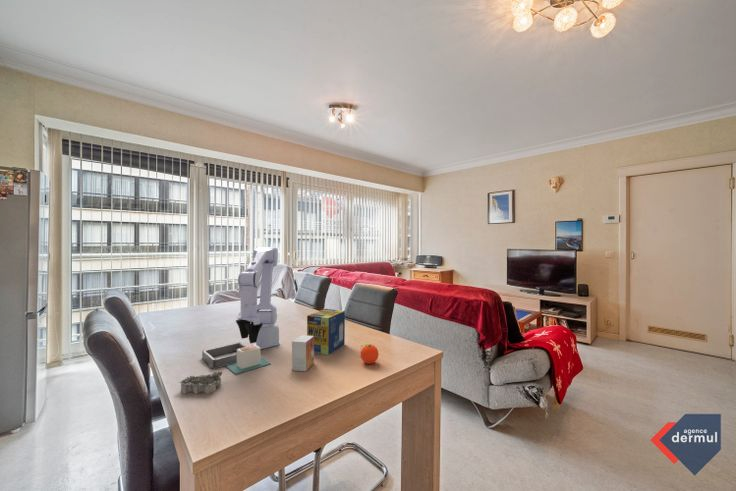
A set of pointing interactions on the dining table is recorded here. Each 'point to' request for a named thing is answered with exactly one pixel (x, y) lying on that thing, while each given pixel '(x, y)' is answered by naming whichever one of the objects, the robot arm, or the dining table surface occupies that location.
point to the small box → (302, 353)
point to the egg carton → (201, 383)
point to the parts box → (248, 356)
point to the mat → (237, 370)
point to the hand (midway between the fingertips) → (248, 340)
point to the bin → (223, 361)
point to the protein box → (327, 330)
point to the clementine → (369, 353)
